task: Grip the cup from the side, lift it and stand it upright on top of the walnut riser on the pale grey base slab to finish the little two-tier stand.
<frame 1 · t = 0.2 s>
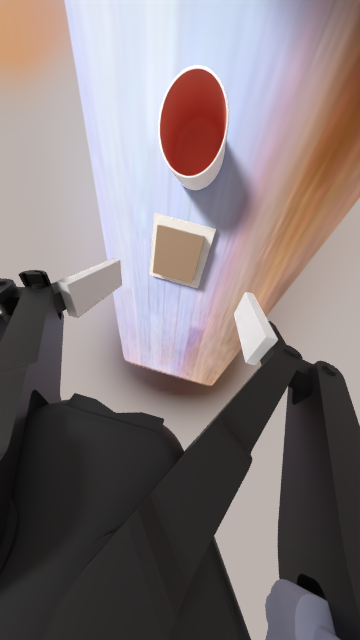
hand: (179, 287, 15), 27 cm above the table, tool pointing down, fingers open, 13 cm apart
plinth: (179, 253, 38), on the table
cup: (198, 158, 28), on the table
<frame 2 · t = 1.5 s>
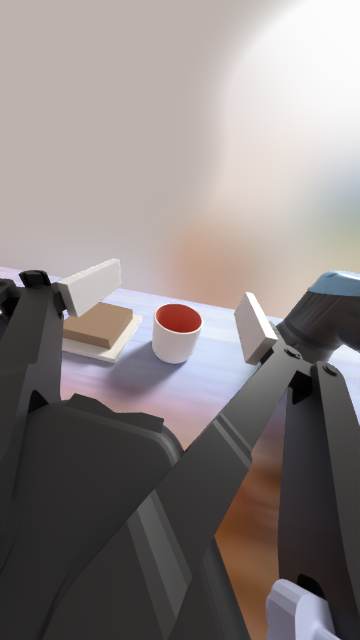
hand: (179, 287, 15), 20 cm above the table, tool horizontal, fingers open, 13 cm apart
plinth: (102, 331, 35), on the table
cup: (172, 348, 35), on the table
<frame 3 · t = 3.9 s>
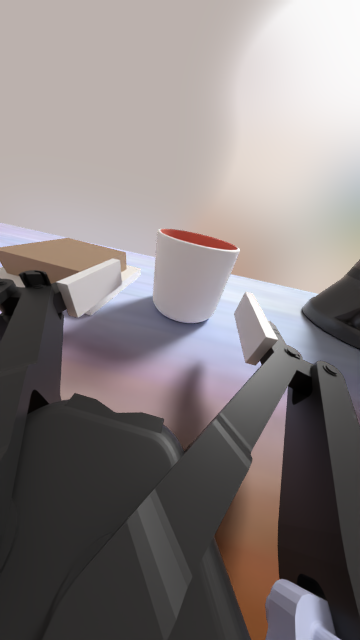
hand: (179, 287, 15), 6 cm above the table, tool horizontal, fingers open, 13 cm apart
plinth: (80, 279, 24), on the table
cup: (182, 308, 23), on the table
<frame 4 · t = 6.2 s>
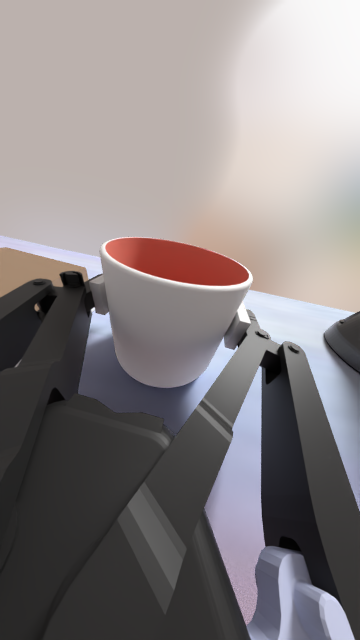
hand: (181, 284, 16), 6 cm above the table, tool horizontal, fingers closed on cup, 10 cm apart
plinth: (16, 308, 16), on the table
cup: (164, 349, 16), on the table, touching gripper
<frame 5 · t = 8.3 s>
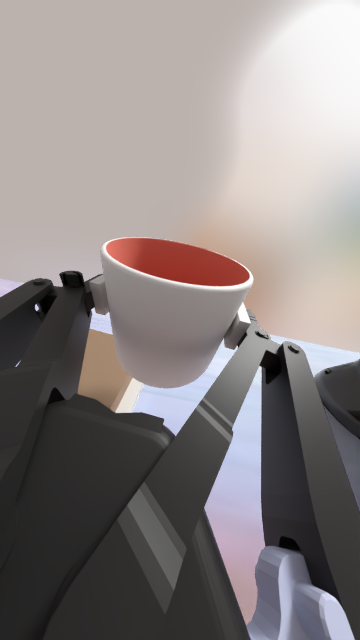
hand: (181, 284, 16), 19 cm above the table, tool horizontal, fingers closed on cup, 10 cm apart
plinth: (102, 375, 25), on the table
cup: (164, 349, 16), point 12 cm above the table, touching gripper
when the fingers open (12 cm above the table, at t = 10.6 s): cup drops 1 cm, resting on plinth.
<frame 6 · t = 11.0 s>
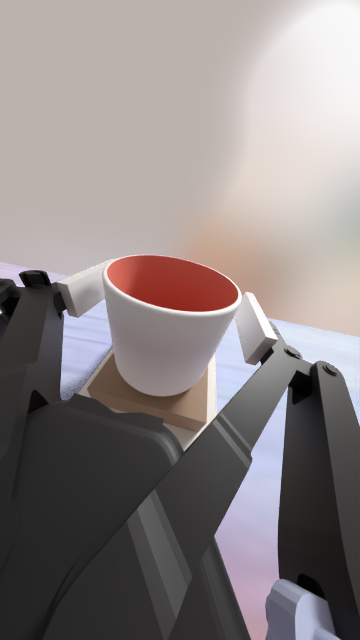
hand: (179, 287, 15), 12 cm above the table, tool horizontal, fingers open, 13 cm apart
plinth: (159, 376, 19), on the table
cup: (162, 357, 17), point 4 cm above the table, touching plinth
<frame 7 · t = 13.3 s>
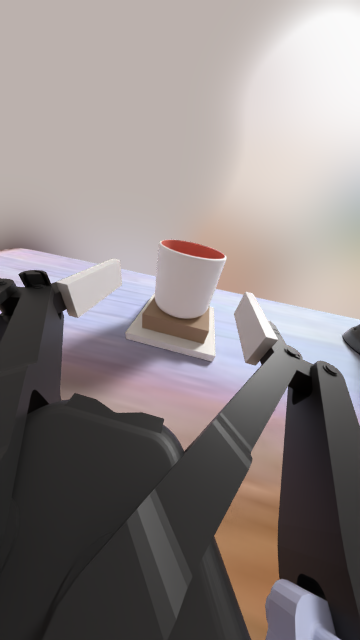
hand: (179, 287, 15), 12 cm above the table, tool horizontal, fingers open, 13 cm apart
plinth: (177, 323, 29), on the table
cup: (180, 306, 27), point 4 cm above the table, touching plinth
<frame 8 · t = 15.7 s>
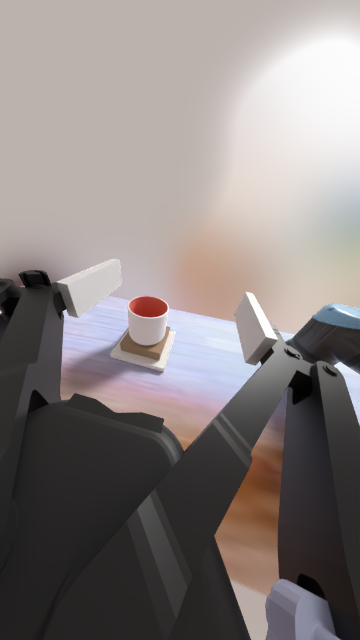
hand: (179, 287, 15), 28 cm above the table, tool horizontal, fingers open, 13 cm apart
plinth: (147, 344, 44), on the table
cup: (147, 334, 41), point 4 cm above the table, touching plinth
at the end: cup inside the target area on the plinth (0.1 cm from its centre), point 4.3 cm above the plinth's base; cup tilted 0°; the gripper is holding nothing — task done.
